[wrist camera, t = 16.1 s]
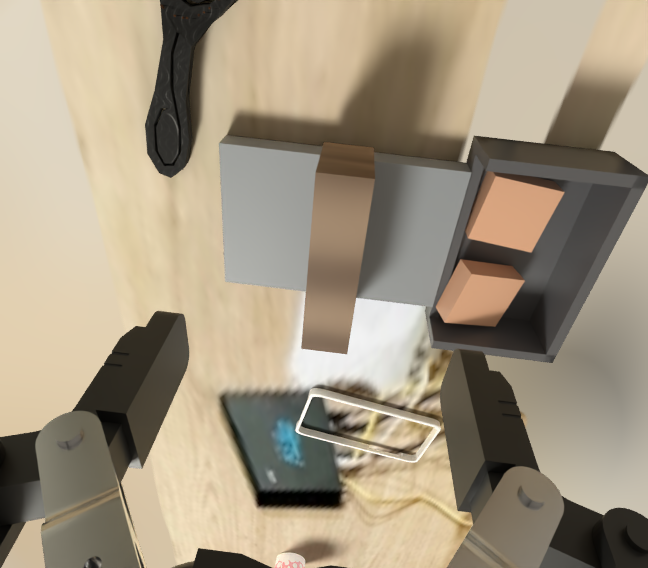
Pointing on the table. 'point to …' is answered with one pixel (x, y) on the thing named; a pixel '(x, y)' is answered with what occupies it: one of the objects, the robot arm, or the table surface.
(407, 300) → the board
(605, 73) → the table surface
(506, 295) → the tile
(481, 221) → the tile
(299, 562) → the beverage cup
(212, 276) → the table surface
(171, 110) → the hairbrush
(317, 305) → the brown wooden block
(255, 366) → the table surface
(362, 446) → the phone case
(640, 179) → the tray
